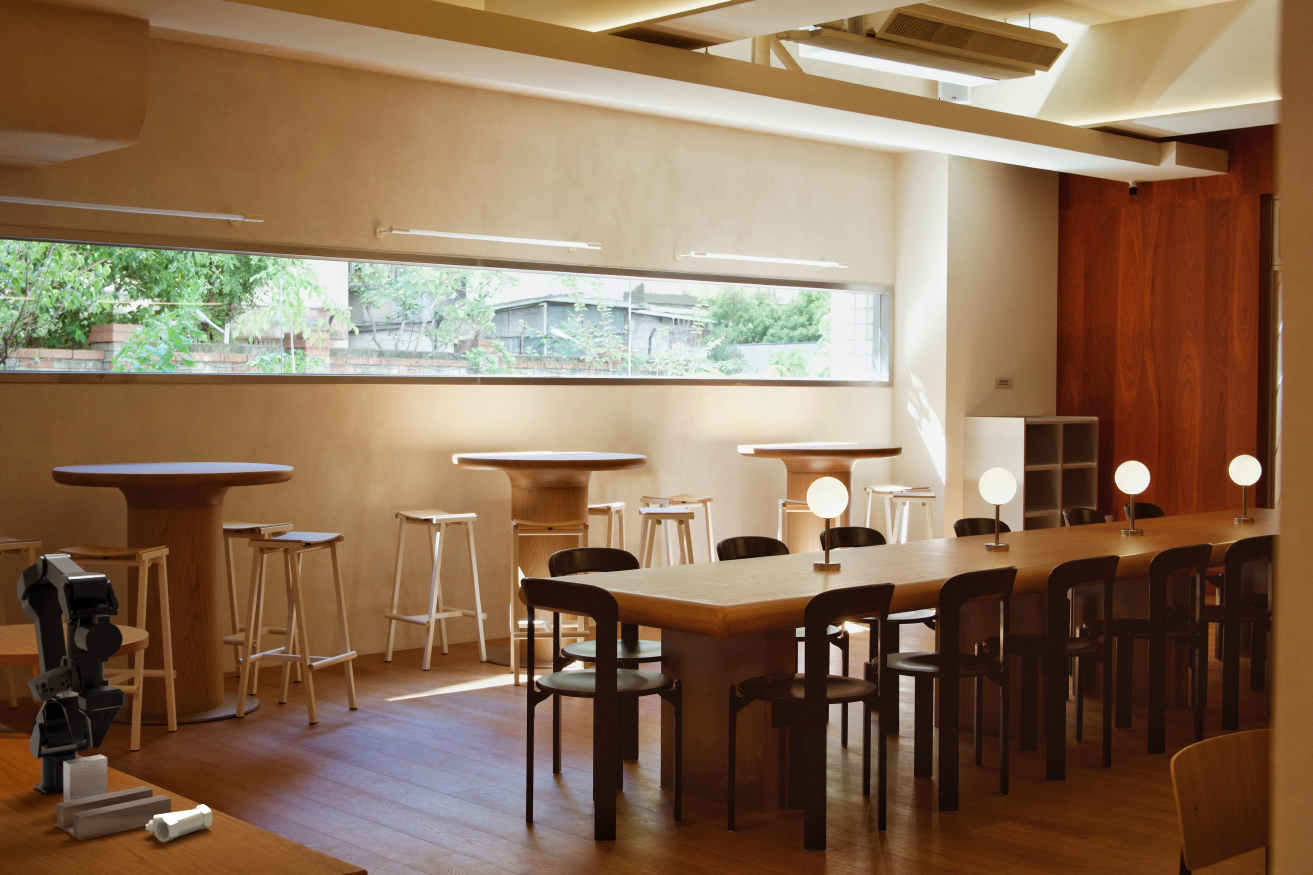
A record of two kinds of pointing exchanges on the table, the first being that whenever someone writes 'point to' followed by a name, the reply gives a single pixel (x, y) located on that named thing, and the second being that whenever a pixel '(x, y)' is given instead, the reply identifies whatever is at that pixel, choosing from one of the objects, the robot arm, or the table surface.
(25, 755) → the table surface
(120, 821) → the grey u-channel
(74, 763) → the brushed metal bar
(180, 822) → the pipe fitting
